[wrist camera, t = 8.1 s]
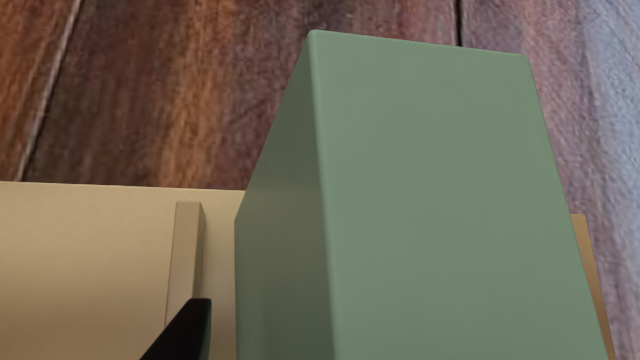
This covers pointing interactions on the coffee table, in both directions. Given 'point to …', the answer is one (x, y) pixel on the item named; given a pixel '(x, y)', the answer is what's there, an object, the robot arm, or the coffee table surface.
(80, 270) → the rack
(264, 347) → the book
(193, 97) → the coffee table surface
